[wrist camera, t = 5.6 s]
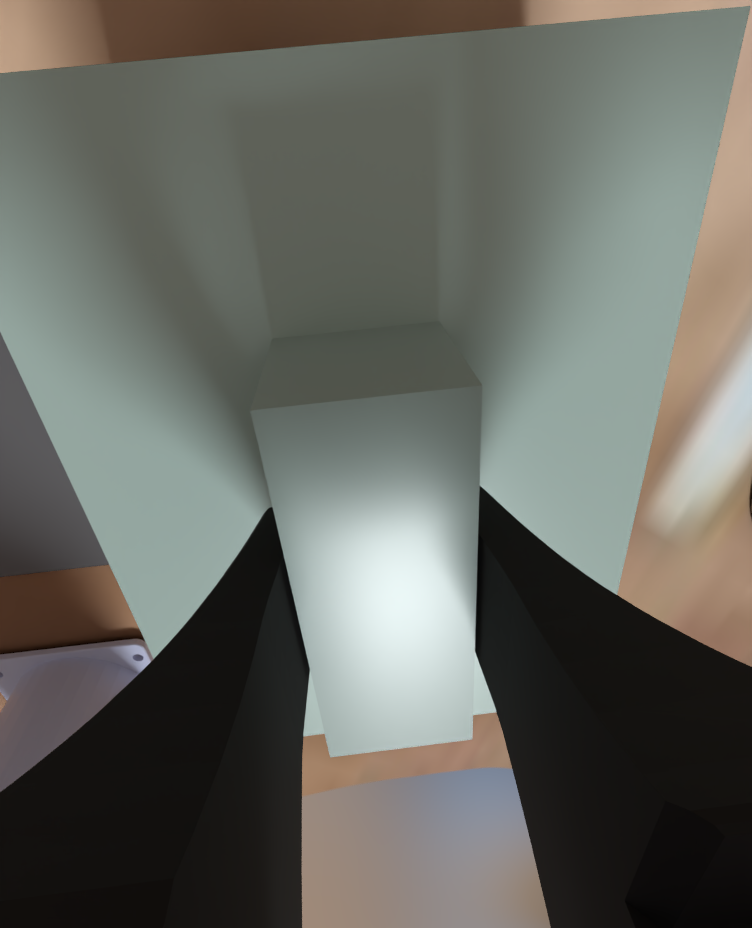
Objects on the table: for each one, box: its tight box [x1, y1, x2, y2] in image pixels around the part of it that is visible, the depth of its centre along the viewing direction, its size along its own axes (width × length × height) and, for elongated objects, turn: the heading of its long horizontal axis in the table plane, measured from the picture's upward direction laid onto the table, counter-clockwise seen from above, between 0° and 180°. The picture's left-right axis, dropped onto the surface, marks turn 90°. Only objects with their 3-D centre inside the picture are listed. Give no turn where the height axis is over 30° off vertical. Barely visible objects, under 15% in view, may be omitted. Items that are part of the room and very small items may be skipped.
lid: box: [0, 6, 750, 757], centre depth 10 cm, size 16×12×4 cm
